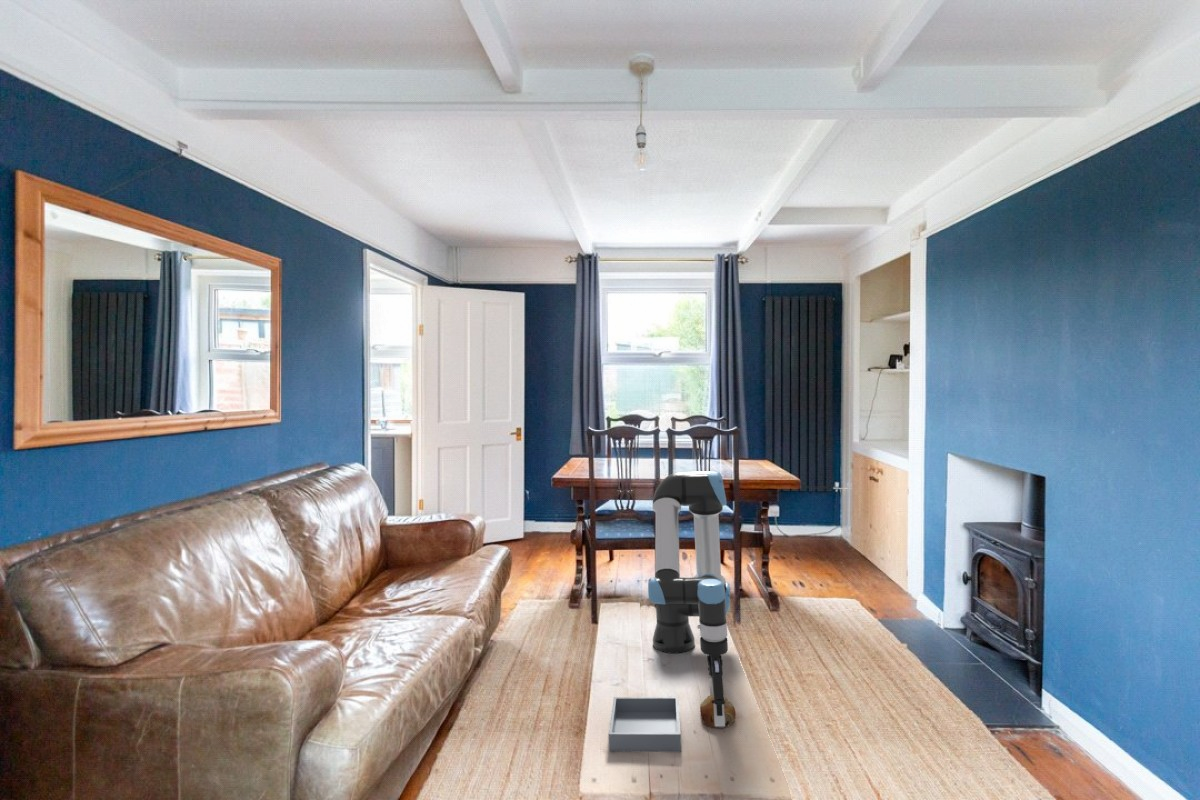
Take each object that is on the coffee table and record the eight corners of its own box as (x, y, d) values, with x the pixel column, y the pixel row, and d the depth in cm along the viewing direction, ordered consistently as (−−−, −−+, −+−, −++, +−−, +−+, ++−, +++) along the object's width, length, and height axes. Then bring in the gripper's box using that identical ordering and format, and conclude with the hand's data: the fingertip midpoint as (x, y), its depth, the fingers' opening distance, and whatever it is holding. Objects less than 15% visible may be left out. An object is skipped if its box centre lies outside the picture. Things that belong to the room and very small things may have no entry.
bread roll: (737, 728, 169) (737, 696, 172) (733, 731, 160) (733, 697, 163) (702, 723, 172) (703, 692, 175) (696, 726, 163) (697, 693, 166)
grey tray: (614, 712, 174) (613, 697, 174) (678, 712, 172) (678, 696, 172) (609, 751, 155) (608, 734, 155) (681, 751, 153) (680, 734, 153)
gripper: (697, 620, 180) (700, 690, 180) (703, 656, 155) (707, 737, 155) (722, 619, 179) (725, 690, 179) (732, 656, 154) (736, 737, 154)
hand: (717, 712), depth 167 cm, fingers open, 13 cm apart
